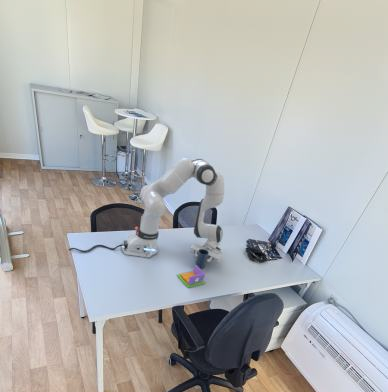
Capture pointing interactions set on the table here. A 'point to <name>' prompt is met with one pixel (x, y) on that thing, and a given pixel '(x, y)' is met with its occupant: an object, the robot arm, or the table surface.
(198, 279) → the dollhouse room
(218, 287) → the table surface
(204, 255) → the pen cup
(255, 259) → the cable
